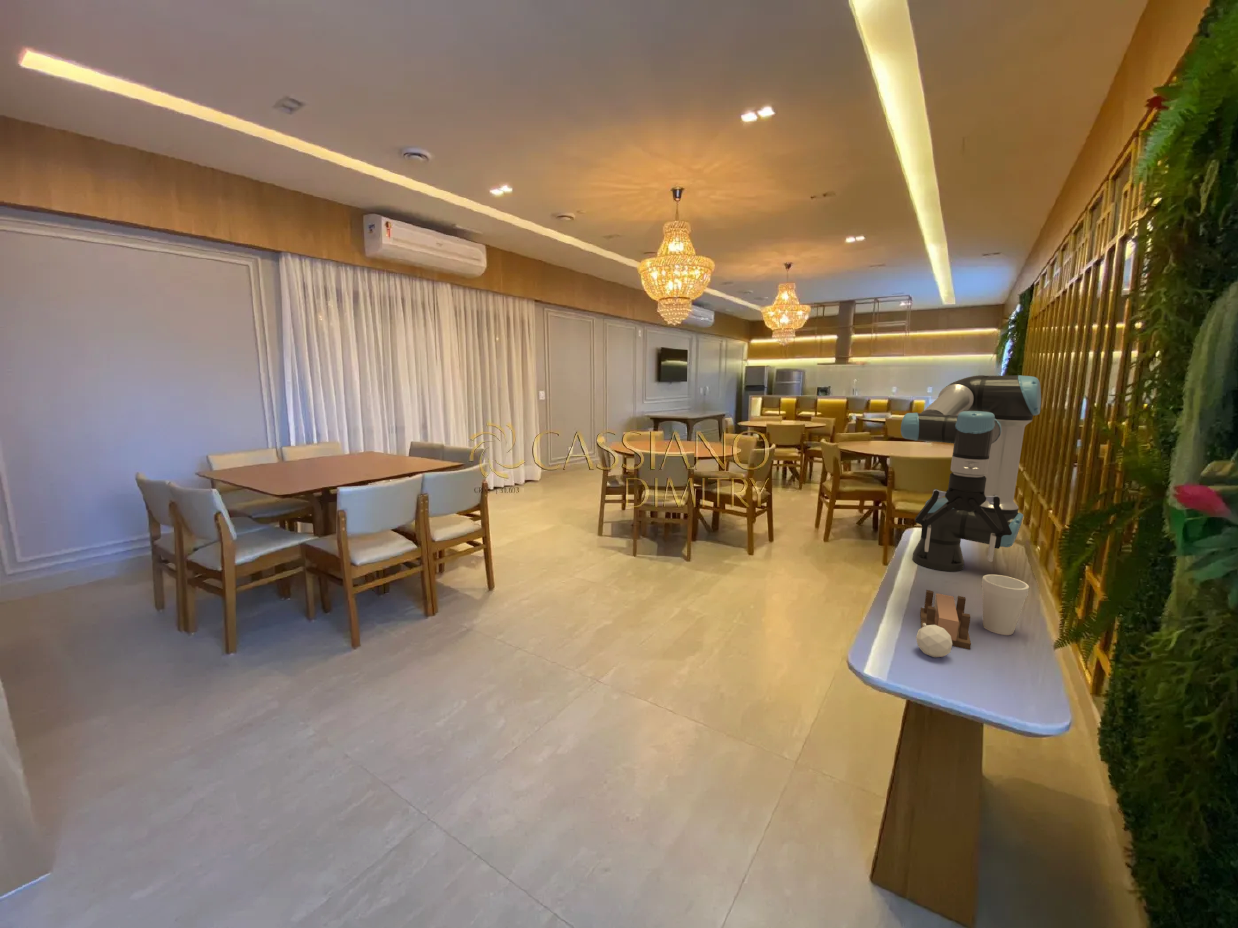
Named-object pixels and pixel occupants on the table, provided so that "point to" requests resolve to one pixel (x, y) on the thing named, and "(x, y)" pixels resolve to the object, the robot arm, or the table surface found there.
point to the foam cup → (1002, 602)
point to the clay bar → (946, 614)
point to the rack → (964, 619)
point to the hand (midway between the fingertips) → (957, 554)
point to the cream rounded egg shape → (934, 640)
